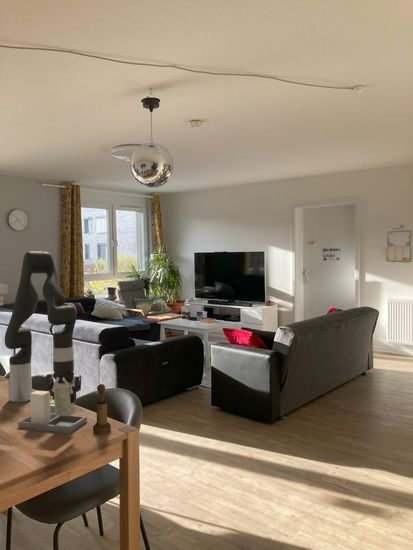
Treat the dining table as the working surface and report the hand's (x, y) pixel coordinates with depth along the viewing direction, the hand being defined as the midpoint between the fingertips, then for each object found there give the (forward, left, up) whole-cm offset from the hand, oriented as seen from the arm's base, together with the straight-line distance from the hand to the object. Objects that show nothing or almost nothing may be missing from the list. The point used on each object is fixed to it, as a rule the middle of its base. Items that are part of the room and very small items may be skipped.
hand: (64, 401), depth 173 cm
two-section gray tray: (-5, 0, -11) cm, 12 cm away
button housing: (-12, +14, -11) cm, 22 cm away
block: (-11, 0, -9) cm, 14 cm away
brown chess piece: (+15, +2, -11) cm, 19 cm away
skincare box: (0, 0, -5) cm, 5 cm away
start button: (-12, +14, -9) cm, 20 cm away
